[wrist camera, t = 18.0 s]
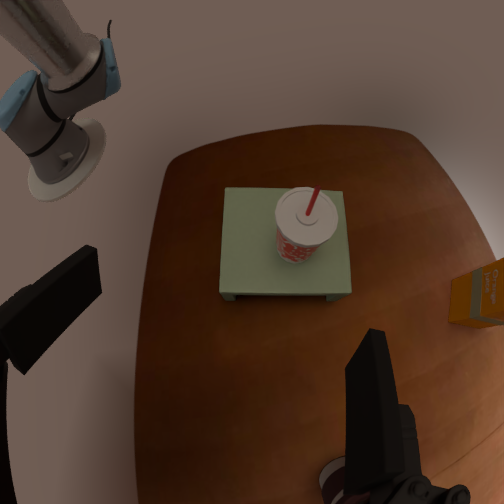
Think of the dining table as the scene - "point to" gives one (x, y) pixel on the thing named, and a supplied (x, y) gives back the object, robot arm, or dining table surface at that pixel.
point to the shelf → (265, 251)
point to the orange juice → (479, 297)
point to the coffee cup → (337, 484)
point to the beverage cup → (303, 223)
